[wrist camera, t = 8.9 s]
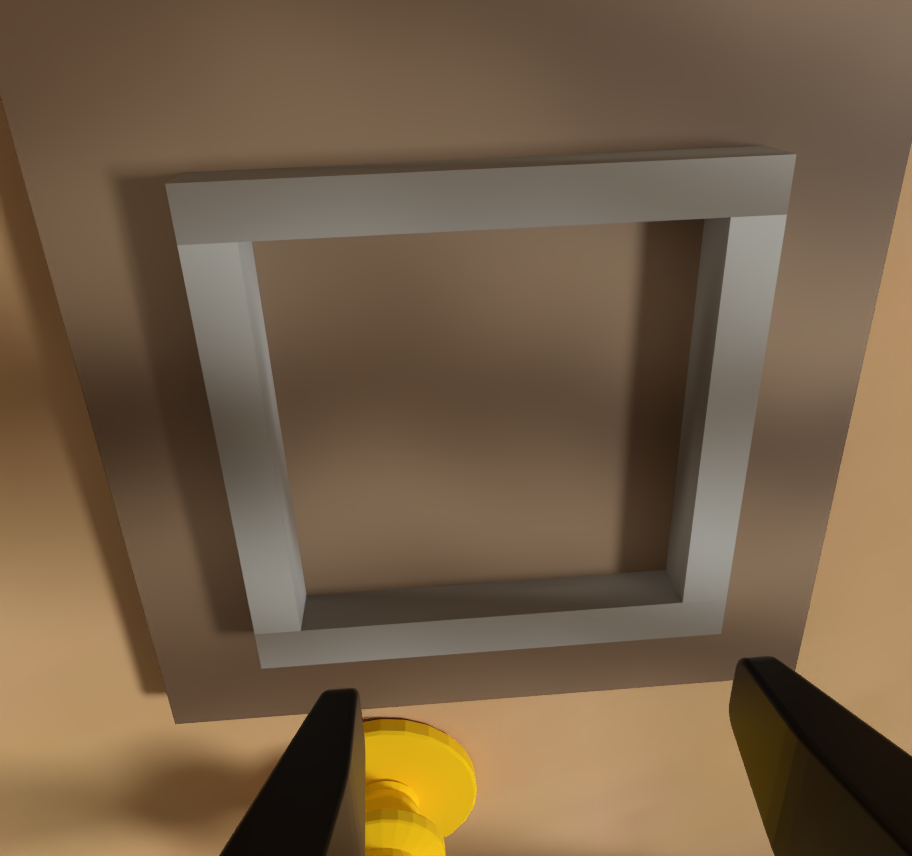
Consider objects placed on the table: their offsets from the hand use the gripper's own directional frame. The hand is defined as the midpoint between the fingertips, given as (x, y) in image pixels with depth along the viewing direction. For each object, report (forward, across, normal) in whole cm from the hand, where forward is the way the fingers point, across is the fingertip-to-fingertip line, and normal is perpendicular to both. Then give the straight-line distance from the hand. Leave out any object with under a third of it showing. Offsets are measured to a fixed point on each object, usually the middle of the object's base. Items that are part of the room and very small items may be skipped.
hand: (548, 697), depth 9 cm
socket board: (+9, 0, 0) cm, 9 cm away
